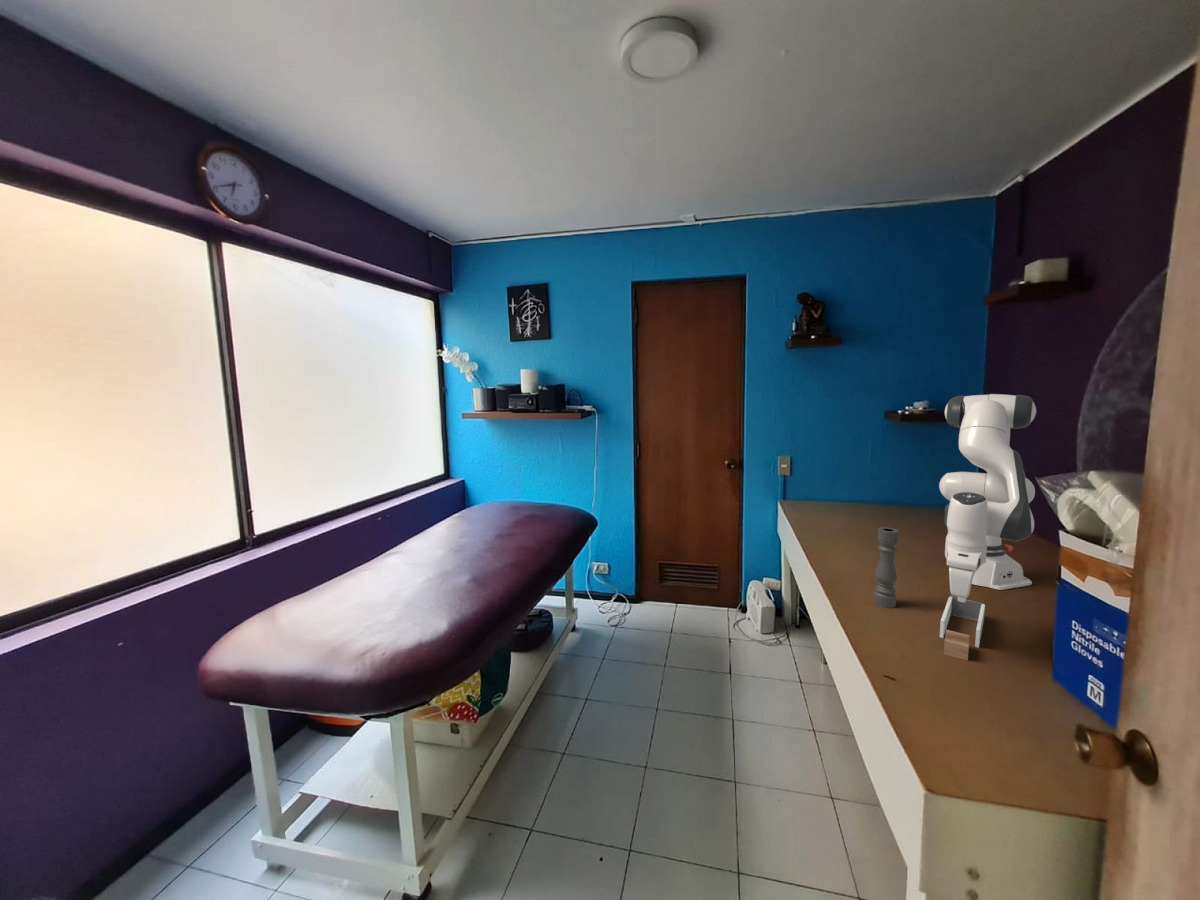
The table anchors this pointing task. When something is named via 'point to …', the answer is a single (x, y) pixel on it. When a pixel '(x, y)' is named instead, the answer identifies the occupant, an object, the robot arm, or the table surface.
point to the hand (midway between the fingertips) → (962, 600)
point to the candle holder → (886, 568)
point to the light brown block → (956, 644)
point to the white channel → (964, 614)
